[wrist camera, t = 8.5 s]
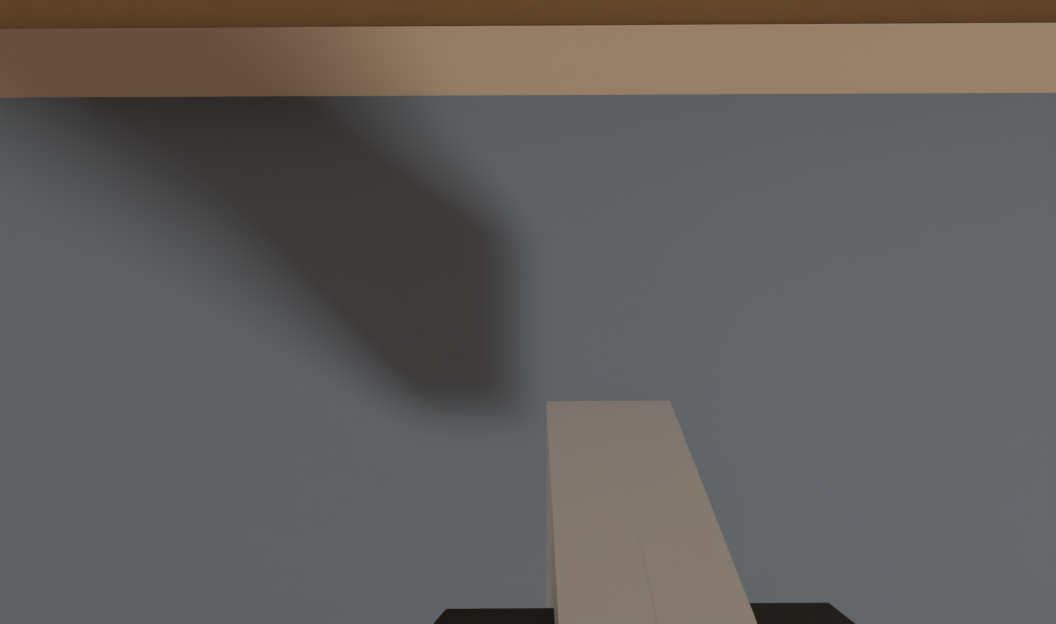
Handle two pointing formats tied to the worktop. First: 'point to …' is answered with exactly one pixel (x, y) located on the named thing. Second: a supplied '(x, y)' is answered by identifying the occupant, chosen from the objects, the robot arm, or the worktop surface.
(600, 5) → the worktop surface
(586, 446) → the robot arm
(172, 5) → the worktop surface
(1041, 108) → the lane
